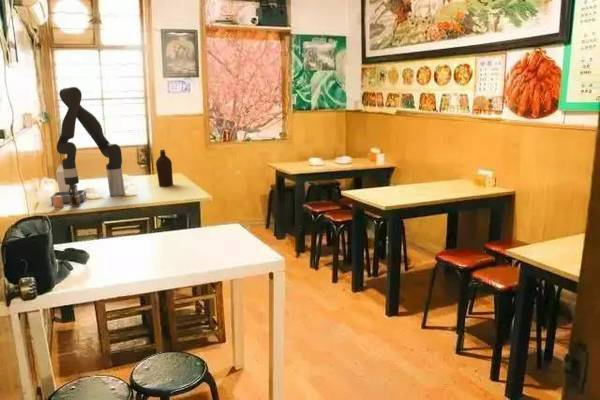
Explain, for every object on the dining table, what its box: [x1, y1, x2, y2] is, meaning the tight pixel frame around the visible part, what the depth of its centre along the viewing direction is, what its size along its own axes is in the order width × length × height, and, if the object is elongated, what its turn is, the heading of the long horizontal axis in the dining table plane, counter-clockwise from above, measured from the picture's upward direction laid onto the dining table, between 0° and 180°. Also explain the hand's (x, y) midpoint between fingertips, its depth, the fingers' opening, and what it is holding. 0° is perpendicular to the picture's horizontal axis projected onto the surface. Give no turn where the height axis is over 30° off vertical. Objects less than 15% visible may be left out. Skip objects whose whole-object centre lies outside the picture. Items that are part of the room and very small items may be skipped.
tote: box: [50, 189, 87, 205], centre depth 308 cm, size 18×14×5 cm
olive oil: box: [155, 149, 174, 188], centre depth 341 cm, size 11×11×25 cm
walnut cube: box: [69, 195, 82, 207], centre depth 294 cm, size 5×5×5 cm
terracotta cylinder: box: [53, 195, 64, 209], centre depth 292 cm, size 5×5×7 cm
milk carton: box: [55, 164, 69, 192], centre depth 332 cm, size 7×7×19 cm
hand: (75, 203), depth 295 cm, fingers closed on walnut cube, 5 cm apart
